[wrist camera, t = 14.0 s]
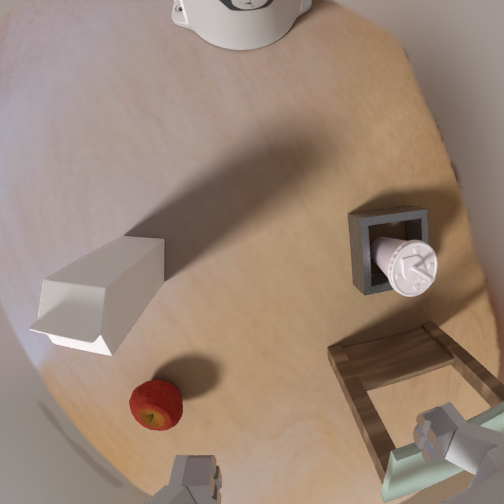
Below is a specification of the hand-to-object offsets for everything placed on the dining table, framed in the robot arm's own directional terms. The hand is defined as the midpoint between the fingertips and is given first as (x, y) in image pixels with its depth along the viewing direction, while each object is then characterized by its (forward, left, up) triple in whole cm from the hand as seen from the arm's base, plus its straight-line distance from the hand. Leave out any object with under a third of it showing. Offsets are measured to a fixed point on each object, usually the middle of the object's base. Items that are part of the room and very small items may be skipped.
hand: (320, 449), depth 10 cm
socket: (+1, +16, -31) cm, 35 cm away
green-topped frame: (+13, +16, -31) cm, 37 cm away
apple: (+19, -19, -31) cm, 41 cm away
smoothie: (+2, +16, -31) cm, 35 cm away
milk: (-2, -16, -31) cm, 35 cm away
